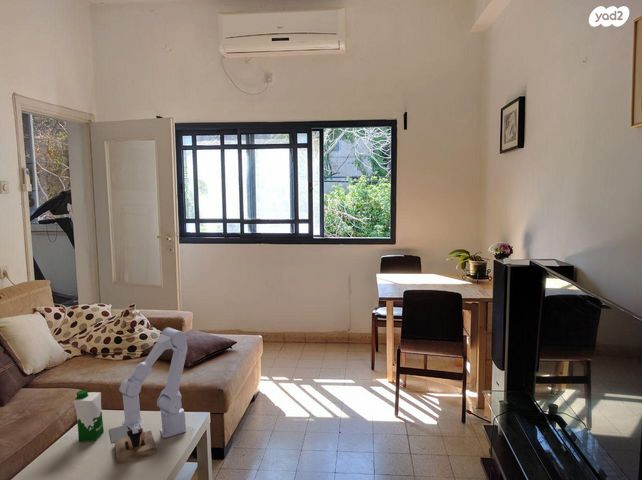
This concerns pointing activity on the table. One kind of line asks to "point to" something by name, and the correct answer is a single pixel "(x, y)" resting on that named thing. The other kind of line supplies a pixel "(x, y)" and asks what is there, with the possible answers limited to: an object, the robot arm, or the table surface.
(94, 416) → the milk carton
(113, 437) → the grey square plate
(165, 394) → the robot arm
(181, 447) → the table surface
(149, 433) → the block
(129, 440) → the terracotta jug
